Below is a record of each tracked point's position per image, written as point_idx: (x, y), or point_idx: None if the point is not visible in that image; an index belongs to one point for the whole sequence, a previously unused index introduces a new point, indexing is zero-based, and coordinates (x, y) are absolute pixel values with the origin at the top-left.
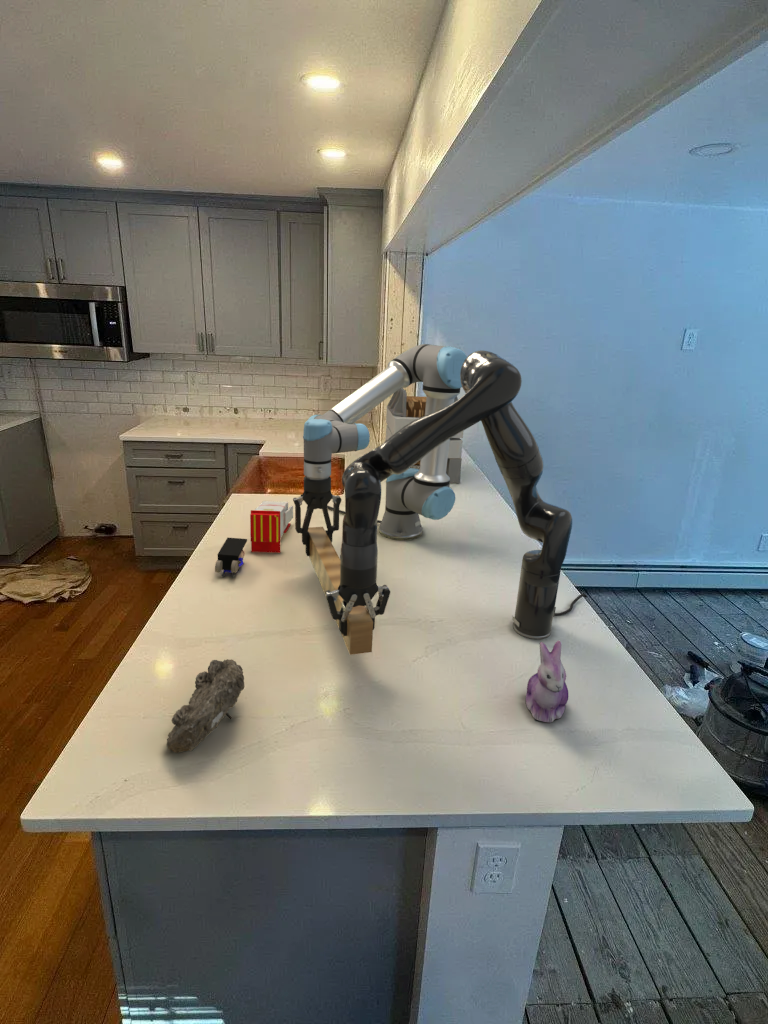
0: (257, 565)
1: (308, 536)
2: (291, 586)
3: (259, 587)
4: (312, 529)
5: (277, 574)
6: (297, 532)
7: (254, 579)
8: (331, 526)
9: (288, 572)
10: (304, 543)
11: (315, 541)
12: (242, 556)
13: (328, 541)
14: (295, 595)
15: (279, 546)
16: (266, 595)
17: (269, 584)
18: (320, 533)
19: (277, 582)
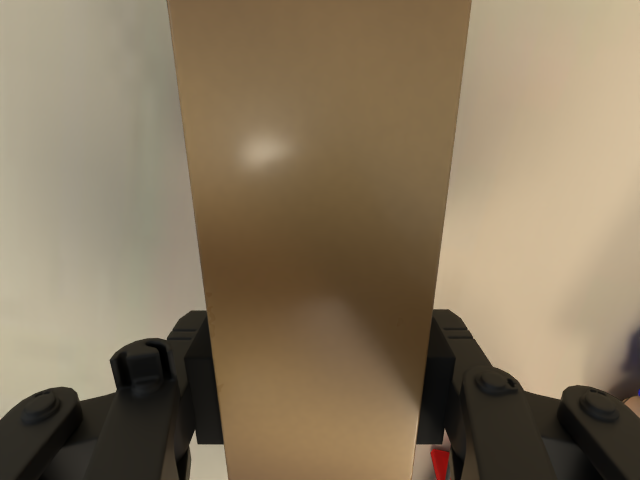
0: (553, 367)
1: (433, 346)
2: (470, 134)
3: (623, 157)
4: (359, 473)
5: (497, 272)
6: (605, 393)
7: (613, 244)
8: (100, 444)
9: (443, 282)
10: (442, 317)
11: (422, 100)
12: (637, 415)
13: (212, 56)
14: (480, 19)
15: (443, 477)
16: (625, 56)
17: (566, 179)
18: (289, 364)
19: (523, 192)
